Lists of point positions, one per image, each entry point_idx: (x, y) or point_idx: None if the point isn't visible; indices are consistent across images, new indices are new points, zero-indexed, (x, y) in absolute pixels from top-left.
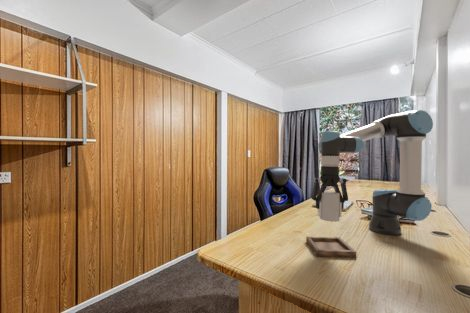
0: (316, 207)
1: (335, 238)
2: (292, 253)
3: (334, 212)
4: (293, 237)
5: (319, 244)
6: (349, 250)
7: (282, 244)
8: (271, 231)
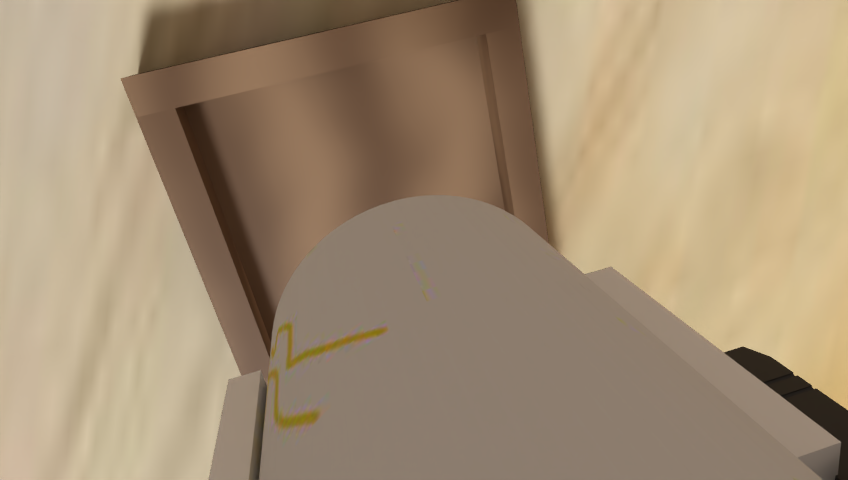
0: (770, 369)
1: None
2: (686, 10)
3: (395, 272)
4: None
5: None
6: (190, 92)
7: (733, 176)
8: None
